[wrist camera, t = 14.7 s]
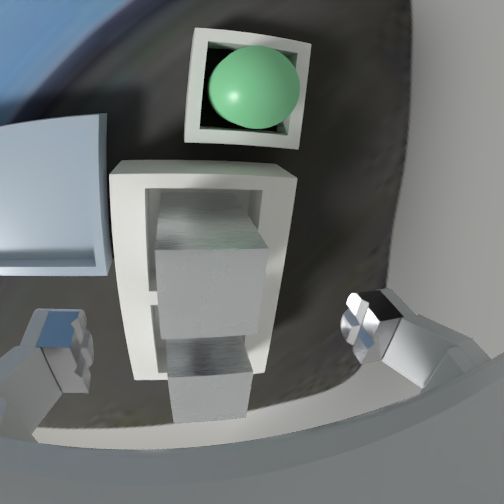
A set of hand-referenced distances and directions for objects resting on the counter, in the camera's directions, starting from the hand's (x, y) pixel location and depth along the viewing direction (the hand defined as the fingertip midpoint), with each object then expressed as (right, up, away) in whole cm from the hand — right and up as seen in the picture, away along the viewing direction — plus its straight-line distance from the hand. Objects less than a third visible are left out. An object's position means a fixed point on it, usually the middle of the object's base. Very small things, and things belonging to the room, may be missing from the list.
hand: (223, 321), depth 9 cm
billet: (-2, +3, +9) cm, 10 cm away
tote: (-13, +5, +6) cm, 16 cm away
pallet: (-3, +1, +11) cm, 12 cm away
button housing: (0, +11, +7) cm, 13 cm away
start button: (0, +11, +6) cm, 12 cm away
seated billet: (-3, -2, +12) cm, 12 cm away
